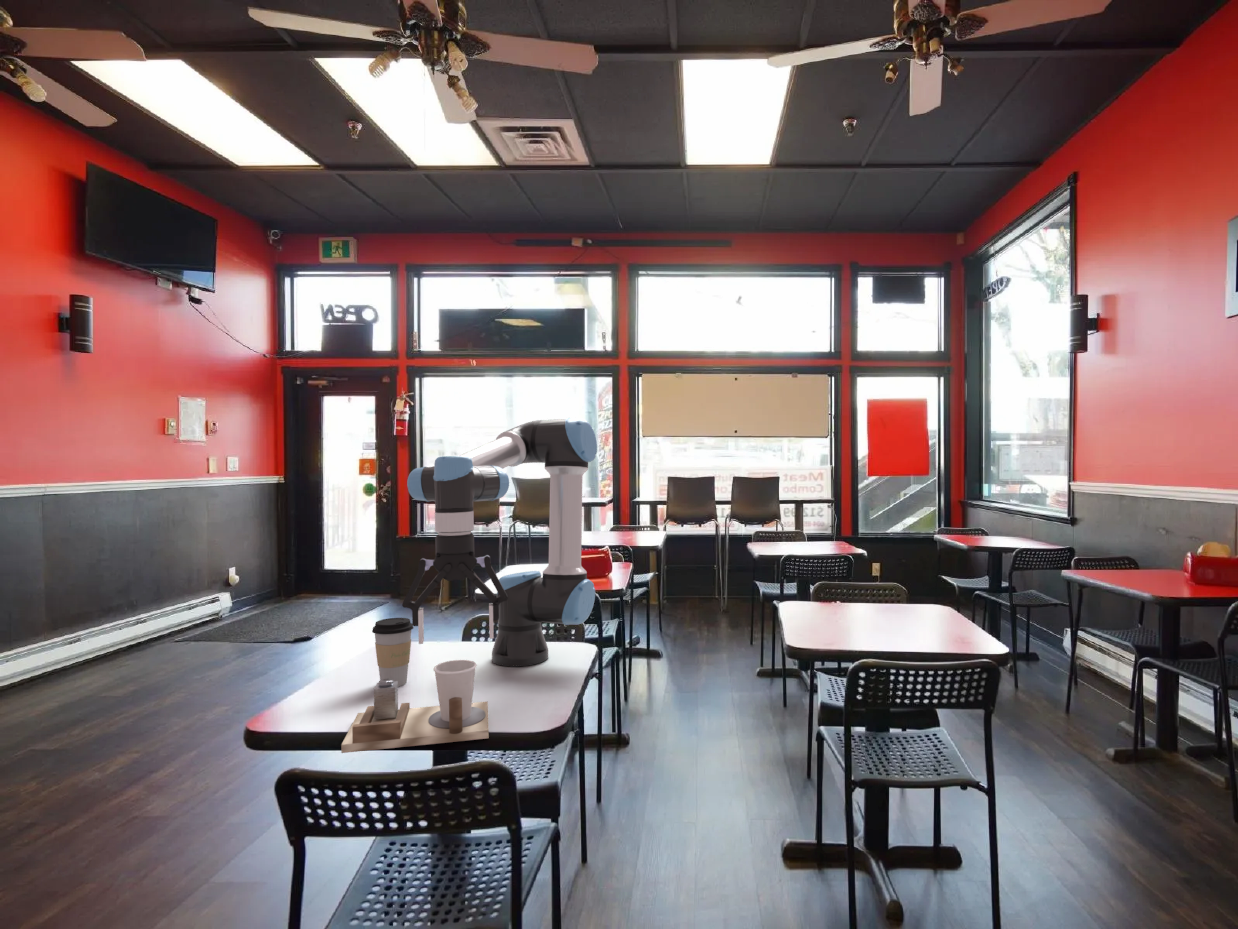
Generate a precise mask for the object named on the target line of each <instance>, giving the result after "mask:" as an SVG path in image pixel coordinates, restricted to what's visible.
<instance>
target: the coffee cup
mask: <svg viewBox="0 0 1238 929" xmlns="http://www.w3.org/2000/svg"><path fill="white" fill-rule="evenodd" d="M374 624H375V625H374V626H373V627H372V630H371V631H372V633H373V634H374V639H375V640H374V641H375V642H374V645H375V654H376V662H377V664H376V665H377V667H378V672H379V681H380V680H383V679H393V681H398V687H403V686H404V685H406V684H407V681H408V672H409V663H410V656H411V647H412V630H413V629H414V627H415V626H413V624H412V622H411V619H410V618H407V617H389V618H383V619H380V620H377V621H375V623H374Z"/></svg>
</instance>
